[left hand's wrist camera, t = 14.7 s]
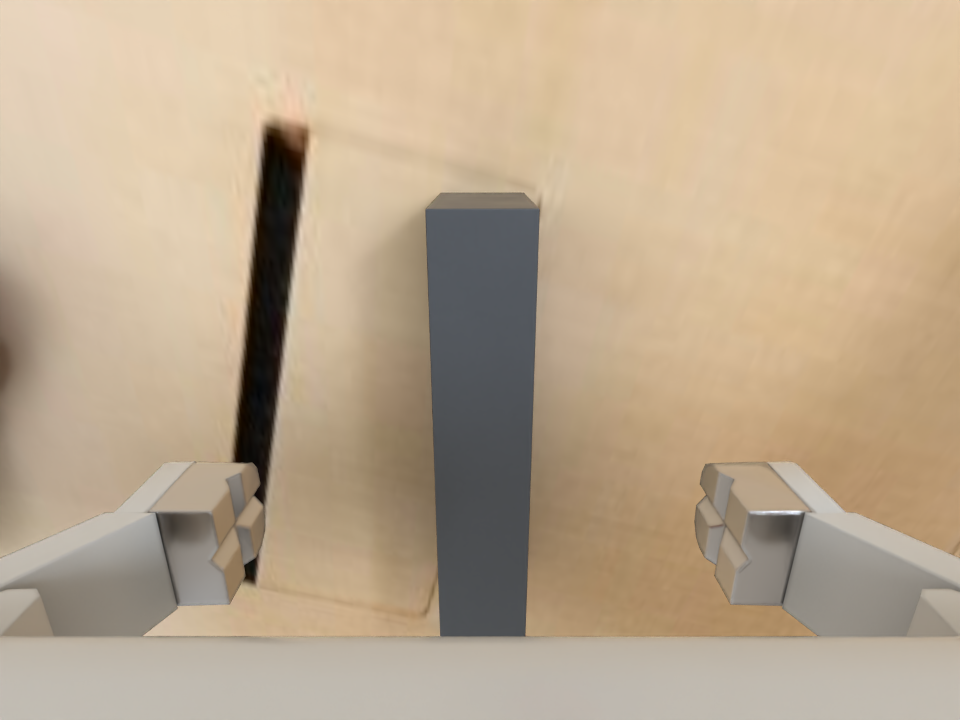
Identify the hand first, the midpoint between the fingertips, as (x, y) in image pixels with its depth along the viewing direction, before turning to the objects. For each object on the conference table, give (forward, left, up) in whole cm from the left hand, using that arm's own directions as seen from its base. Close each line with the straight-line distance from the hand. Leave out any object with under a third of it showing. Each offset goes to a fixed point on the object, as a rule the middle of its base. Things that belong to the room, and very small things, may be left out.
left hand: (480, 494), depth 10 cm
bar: (+2, +10, -25) cm, 26 cm away
